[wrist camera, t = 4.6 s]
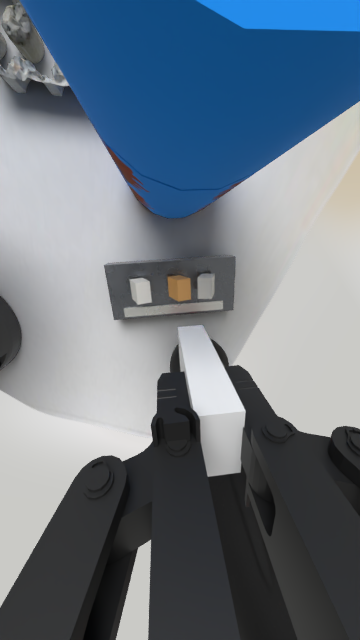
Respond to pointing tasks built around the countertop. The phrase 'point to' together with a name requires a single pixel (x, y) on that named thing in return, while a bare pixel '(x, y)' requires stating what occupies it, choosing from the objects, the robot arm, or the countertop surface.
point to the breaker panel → (158, 279)
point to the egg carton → (26, 53)
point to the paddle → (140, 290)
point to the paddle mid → (179, 288)
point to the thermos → (202, 84)
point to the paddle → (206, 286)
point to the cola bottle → (246, 554)
